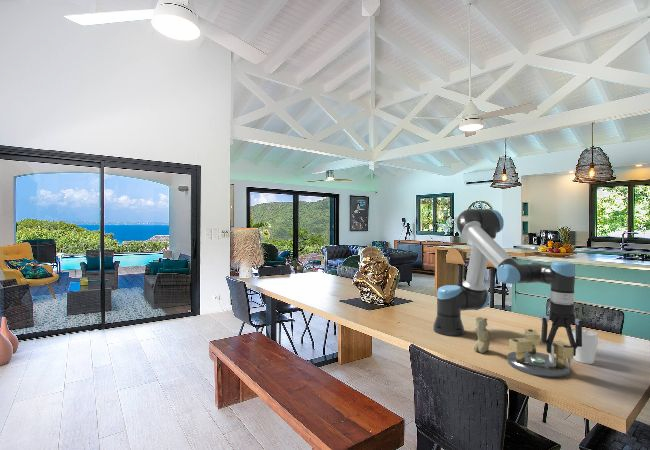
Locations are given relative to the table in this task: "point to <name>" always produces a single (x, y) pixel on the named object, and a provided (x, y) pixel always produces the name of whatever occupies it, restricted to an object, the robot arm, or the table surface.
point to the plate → (538, 365)
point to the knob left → (520, 348)
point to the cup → (586, 346)
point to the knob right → (562, 353)
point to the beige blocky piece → (532, 339)
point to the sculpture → (482, 335)
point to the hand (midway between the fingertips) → (560, 362)
